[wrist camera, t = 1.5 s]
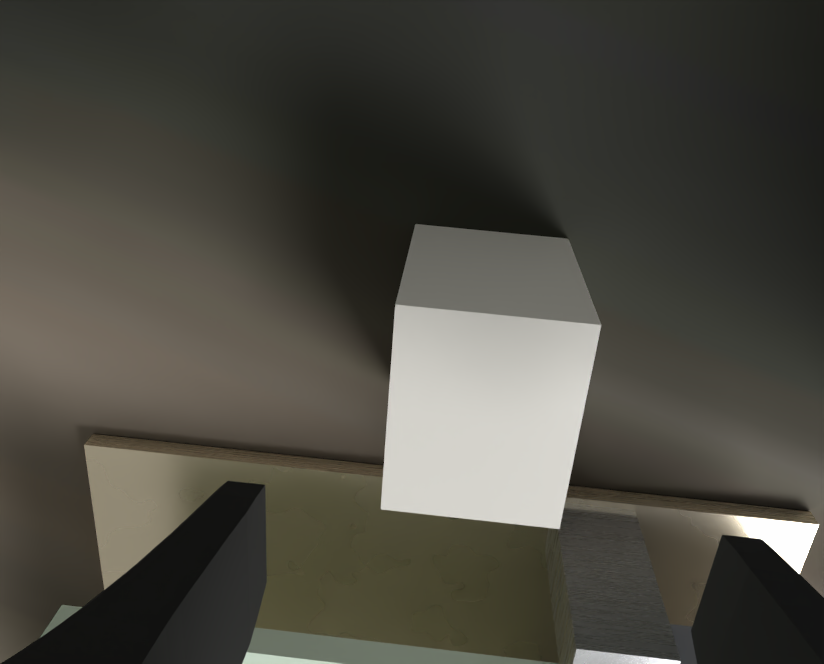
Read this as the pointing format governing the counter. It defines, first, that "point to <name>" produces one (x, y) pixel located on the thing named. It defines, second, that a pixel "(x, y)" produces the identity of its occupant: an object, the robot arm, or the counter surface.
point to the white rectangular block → (487, 376)
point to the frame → (441, 555)
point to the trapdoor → (370, 649)
